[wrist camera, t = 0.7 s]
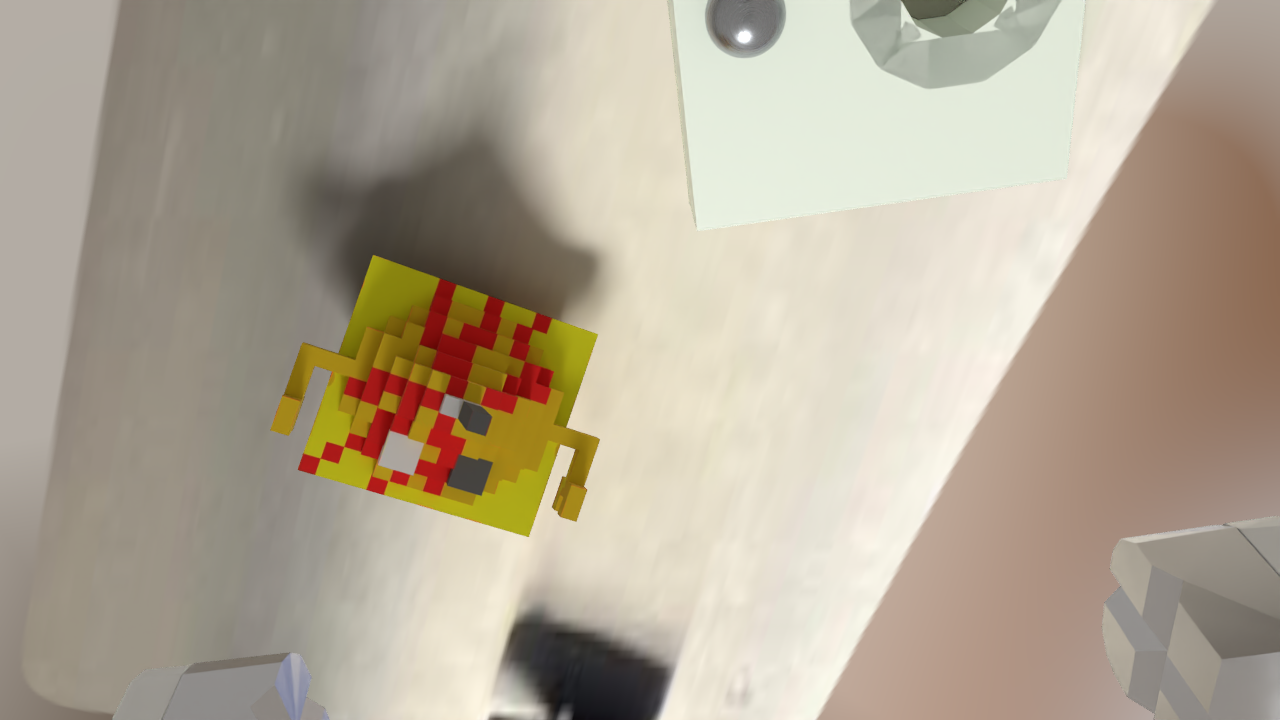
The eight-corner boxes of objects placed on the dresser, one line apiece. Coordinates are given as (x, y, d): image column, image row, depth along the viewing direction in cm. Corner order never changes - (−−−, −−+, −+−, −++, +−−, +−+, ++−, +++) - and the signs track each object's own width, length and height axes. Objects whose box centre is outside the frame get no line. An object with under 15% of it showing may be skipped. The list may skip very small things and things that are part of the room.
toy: (277, 438, 48) (234, 495, 34) (344, 251, 49) (329, 227, 34) (536, 515, 52) (598, 596, 37) (596, 340, 52) (680, 352, 38)
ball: (696, -29, 37) (706, -13, 35) (776, -40, 37) (791, -25, 34) (704, 52, 39) (713, 73, 36) (780, 41, 39) (795, 61, 36)
